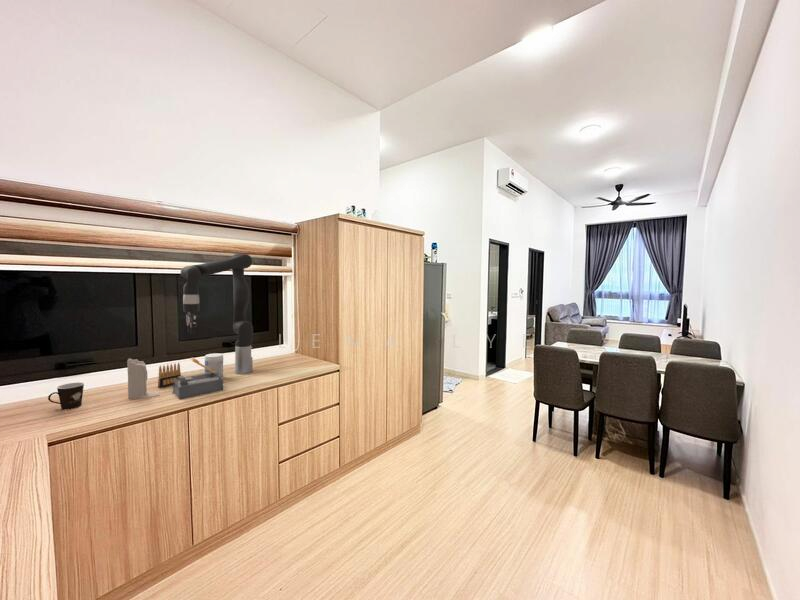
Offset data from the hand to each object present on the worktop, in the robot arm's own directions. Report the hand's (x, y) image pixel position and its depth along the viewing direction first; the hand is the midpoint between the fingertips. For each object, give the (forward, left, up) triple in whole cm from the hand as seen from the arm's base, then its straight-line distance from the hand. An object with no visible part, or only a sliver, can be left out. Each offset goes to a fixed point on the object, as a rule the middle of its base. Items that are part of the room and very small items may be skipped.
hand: (191, 333), depth 179 cm
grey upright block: (+21, +3, -30) cm, 36 cm away
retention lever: (-3, +12, -17) cm, 21 cm away
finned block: (0, +12, -29) cm, 32 cm away
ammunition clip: (+9, -8, -30) cm, 32 cm away
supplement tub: (-12, -4, -30) cm, 32 cm away
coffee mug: (+49, -1, -30) cm, 57 cm away
